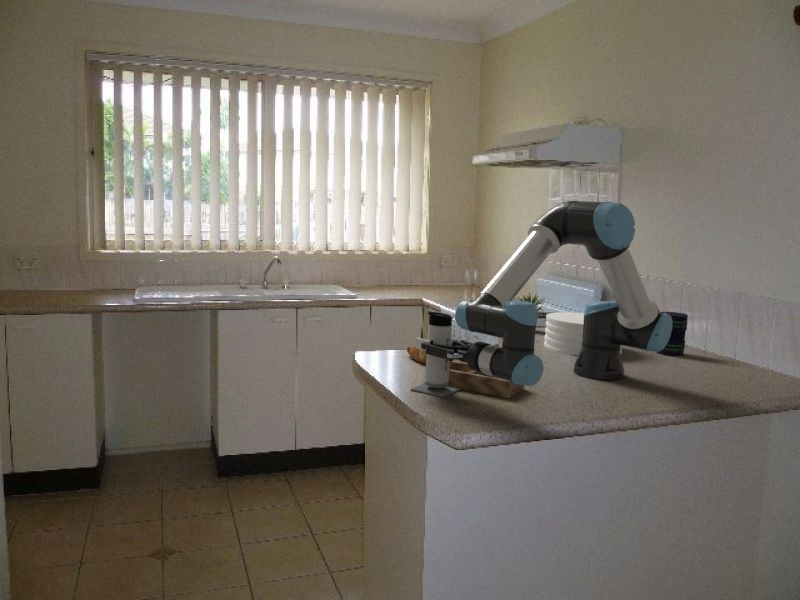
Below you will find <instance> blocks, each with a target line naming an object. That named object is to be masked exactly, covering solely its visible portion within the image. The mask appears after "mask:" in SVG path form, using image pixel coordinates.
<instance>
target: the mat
mask: <svg viewBox="0 0 800 600" xmlns="http://www.w3.org/2000/svg"><path fill="white" fill-rule="evenodd" d="M461 390H462V389H461V388H458V387H453V386H447V387H444V388H434V387H429V386H427V385H426V384H425V383H421V384H420V385H416V386H414V387H412V388H410V391H411V392H416V393H421V394H425V395H430V396H435V397H440V398H446V397H448V396H451V395H453V394H454V393H457V392H459V391H461Z"/></svg>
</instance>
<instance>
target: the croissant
mask: <svg viewBox="0 0 800 600" xmlns="http://www.w3.org/2000/svg"><path fill="white" fill-rule="evenodd" d="M406 350H407V353H408V355H409V357H411V359H412V360H413V359H414V361H415V362H417V363H420V362H421V364H423V363H424V365H426V362H427V354H426V351H425V350H421V349H418V348H415V345H413V346H407V348H406ZM453 361H456V359H453Z"/></svg>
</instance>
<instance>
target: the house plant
mask: <svg viewBox="0 0 800 600" xmlns="http://www.w3.org/2000/svg"><path fill="white" fill-rule="evenodd" d="M539 297H540V296H539V295H538V294H537V293H535V295H533V298H532V297H531V293H530V292H528V295H524V294H522V298H523V299H522V298H520V297H519V296H517V298H518V299H519V301H527V302H531V303H533V304H535V305H536V308H537V312H536V313H538V312H539V311H542V312H543V313H545V312H544V309H543V308H544V307H545V306H540V307H538V306H539V305H540V304H542V303H543V302H544V300H545V299H547V297H543V298H540V299H538V298H539ZM538 319H539V316H538V315H536V320H537V321H538Z"/></svg>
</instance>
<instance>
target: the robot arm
mask: <svg viewBox="0 0 800 600" xmlns="http://www.w3.org/2000/svg"><path fill="white" fill-rule="evenodd" d="M634 226H636V223H635V217H634V215H633V213H632V210H630V208H629V207H628V206H627V205H625V204H623V203H619V202H614V201H588V200H587V201H582V200H569V201H564V202H561V203H559V204H557V205H555V206H553V207H552V208H550V209H548V210H547V211H546V212H545V213H543V214H541V216H540V217H538V218H537V219H536V221H534V223H532V225H531V226H530V227H529V228H528V231H527V237H526V238H525V239H524V240H523V241H522V243H521V244H520V245H519V246H518V248H516V250H515V251H514V252H513V253H512V254H511V256H510V257H509V258H508V259H507V260H506V262H505V263H504V264H503V265H502V266H501V268H499V270H498V271H497V272H496V273H495V275H494V276H493V277H492V278H491V280H490V281H489V282H488V283H487V284H486V285H485V287H484V288H483V289H482V290H481V291H480V293H479V294H478V295H477V296H476V298H474V300H472V299H469V300H468V299H467V300H462V301H461V302H459V304H458V305H457V307H456V309H455V314H454V318H455V322H456V325H457V326H458V327H459V328H460V329H462V330H465V331H469V332H471V333H477V334H483V335H487V336H492V337H496V338H500V339H502V344H501V345H502V346H500V344H499V343H495V344H491V343H487V342H484V341H476V342H470V341H466V340H464V339H460V340H457V339H454V340H453V339H451V346H446V345H440V344H434V342H433V340H430V341H428V339H424V338H421V337H415V345H414V346H415V348H418V349H421V350H425V351H426V354H428V355H432V356H436V357H439V358H443V359H446V360H448V361H453V359H455V361H459V362H463V363H467V364H468V366H469V368H470V369H472V370H474V371H477V372H481V373H484V374H486V375H490V376H493V377H497V378H501V379H504V380H507V381H510V382H513V383H515V384H520V385H525V386H526V387H533V386H535V385H536V384H538V383H539V381H540V380H541V379H542V377H543V374H544V364H543V360H542V359H541V357H539V356H538V355H536V354H535V341H536V331H537V330H536V329H537V323H538V319H537V320H536V316H537V313H538V312H537V309H538V308H536V306H537V305H535V304H533V303H531V302H532V301H531V302H528V301H524V300H523V301H521V300H514V299H515V297H516V296H517V295H518V294H519V293H520V291H522V289H523V288H524V287H525V285H526V284H527V283H528V282H529V280H530V279H531V278H532V277H533V276H534V274H535V273H536V271H537V270H538V269H539V268H540V267H541V266H542V264H543V263H544V262H545V261H546V259H548V257H549V256H550V254H555V253H556V252H558V251H559V249H560V248H561V247H562V246H564V245H577V246H584V247H585V249H586V251H587V254H588V256H589V257H590V258H591V259H592V260H595V261H598V264H599V266H600V269H601V271H602V274H603V275H604V277H605V280H606V283H607V285H608V287H609V289H610V291H611V294H612V296H613V298H614V300H600V301H590V302H588V303H586V305H585V308H584V309H585V310H584V312H583V313H584V324H583V336H582V347H581V350H580V352H579V355H577V357H576V359H575V361H574V364H573V372H574V374H576V375H578V376H581V377H585V378H590V379H594V380H596V379H597V380H604V379H605V380H606V381H611V380H621V379H623V378H624V375H625V368H624V364H623V360H622V359H623V358H622V353H621V354H620V346H621V345H622V347H628V348H633V349H637V350H641V351H645V352H653V353H656V352H658V351H661V350H663V349H664V348H665V346H666V345H667V343H668V341H669V338H670V335H671V331H672V318H671V316H670V315H669V314H666V313H661V312H662V311H660V309H659V307H658V304H657V303H656V302H655V301H654V300H652V299H650V298H649V296H648V294H647V291H646V289H645V285H644V284H643V281H642V279H641V277H640V274H639V271H638V269H637V266H636V264H635V261H634V259H633V256H632V254H631V251H630V249H629V248H630V246H631V243H632V241H633V240H634V237H635V234H636V228H635V227H634Z"/></svg>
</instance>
